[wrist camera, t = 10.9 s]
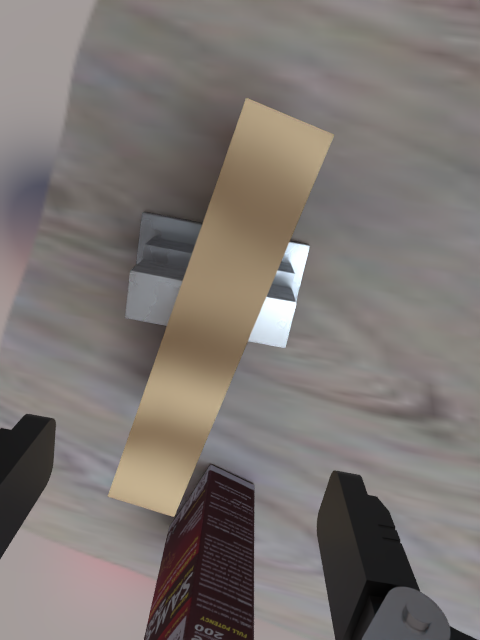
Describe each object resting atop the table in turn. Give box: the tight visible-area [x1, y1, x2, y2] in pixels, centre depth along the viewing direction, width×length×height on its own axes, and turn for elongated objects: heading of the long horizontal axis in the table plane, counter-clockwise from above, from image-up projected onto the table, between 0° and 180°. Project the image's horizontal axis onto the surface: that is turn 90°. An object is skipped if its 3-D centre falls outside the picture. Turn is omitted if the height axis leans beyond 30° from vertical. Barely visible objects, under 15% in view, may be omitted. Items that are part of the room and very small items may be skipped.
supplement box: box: [144, 465, 255, 640], centre depth 33 cm, size 9×5×16 cm, turn 151°
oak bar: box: [108, 98, 334, 517], centre depth 25 cm, size 22×4×5 cm, turn 159°
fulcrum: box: [125, 212, 310, 348], centre depth 30 cm, size 8×12×7 cm, turn 79°
